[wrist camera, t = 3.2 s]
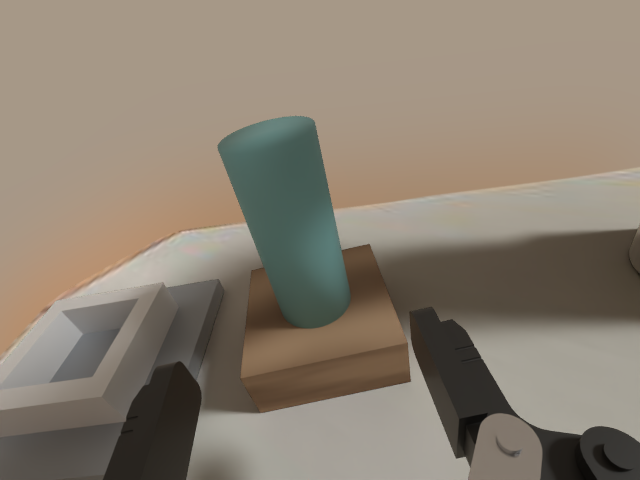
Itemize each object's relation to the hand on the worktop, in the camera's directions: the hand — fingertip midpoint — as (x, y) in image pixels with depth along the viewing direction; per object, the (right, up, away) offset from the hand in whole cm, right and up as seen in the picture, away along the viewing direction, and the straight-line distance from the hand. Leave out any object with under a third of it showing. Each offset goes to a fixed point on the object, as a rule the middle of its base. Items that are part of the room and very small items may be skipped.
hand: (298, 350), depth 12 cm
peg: (0, 0, +12) cm, 12 cm away
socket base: (-16, -7, +16) cm, 24 cm away
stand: (+1, -4, +14) cm, 15 cm away
